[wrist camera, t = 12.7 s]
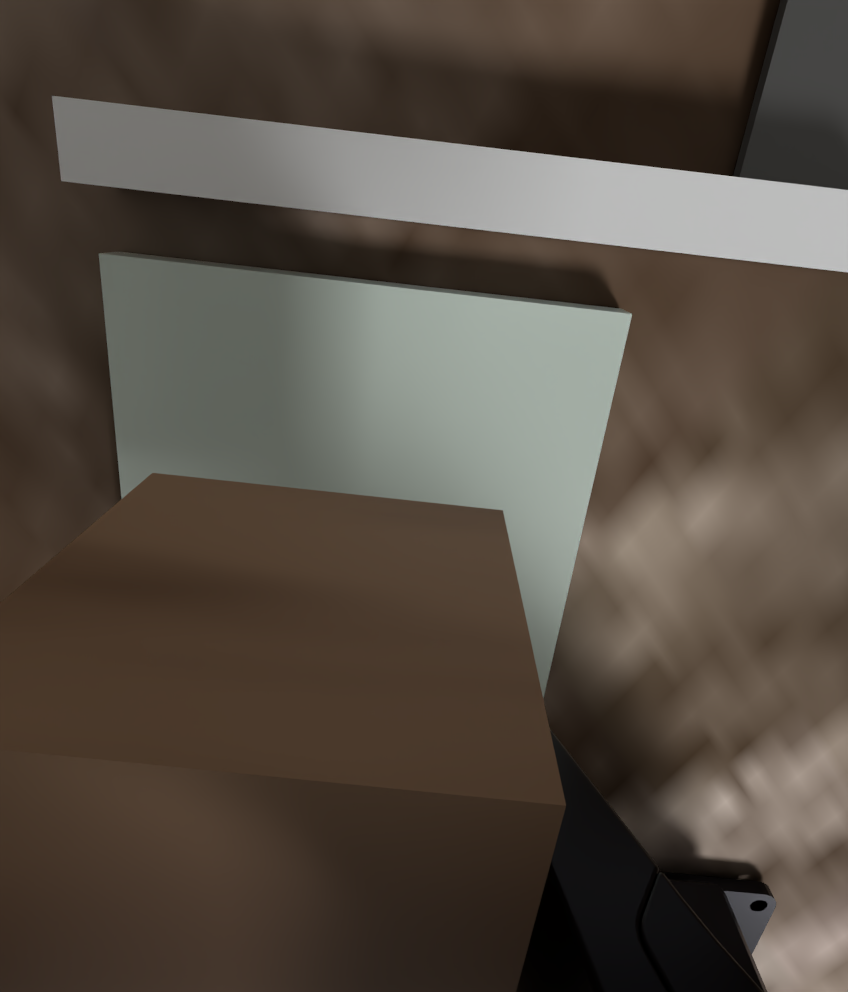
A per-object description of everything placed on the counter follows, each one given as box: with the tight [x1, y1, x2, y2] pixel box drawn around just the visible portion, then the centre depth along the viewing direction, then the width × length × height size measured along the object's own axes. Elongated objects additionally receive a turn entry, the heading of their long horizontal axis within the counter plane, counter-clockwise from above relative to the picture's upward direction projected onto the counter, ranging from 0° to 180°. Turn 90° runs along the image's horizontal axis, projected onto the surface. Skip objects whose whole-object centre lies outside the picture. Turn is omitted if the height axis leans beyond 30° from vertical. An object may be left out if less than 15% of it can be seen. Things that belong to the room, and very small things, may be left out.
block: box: [0, 473, 566, 992], centre depth 8 cm, size 5×5×5 cm
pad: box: [99, 252, 632, 698], centre depth 14 cm, size 10×10×1 cm
